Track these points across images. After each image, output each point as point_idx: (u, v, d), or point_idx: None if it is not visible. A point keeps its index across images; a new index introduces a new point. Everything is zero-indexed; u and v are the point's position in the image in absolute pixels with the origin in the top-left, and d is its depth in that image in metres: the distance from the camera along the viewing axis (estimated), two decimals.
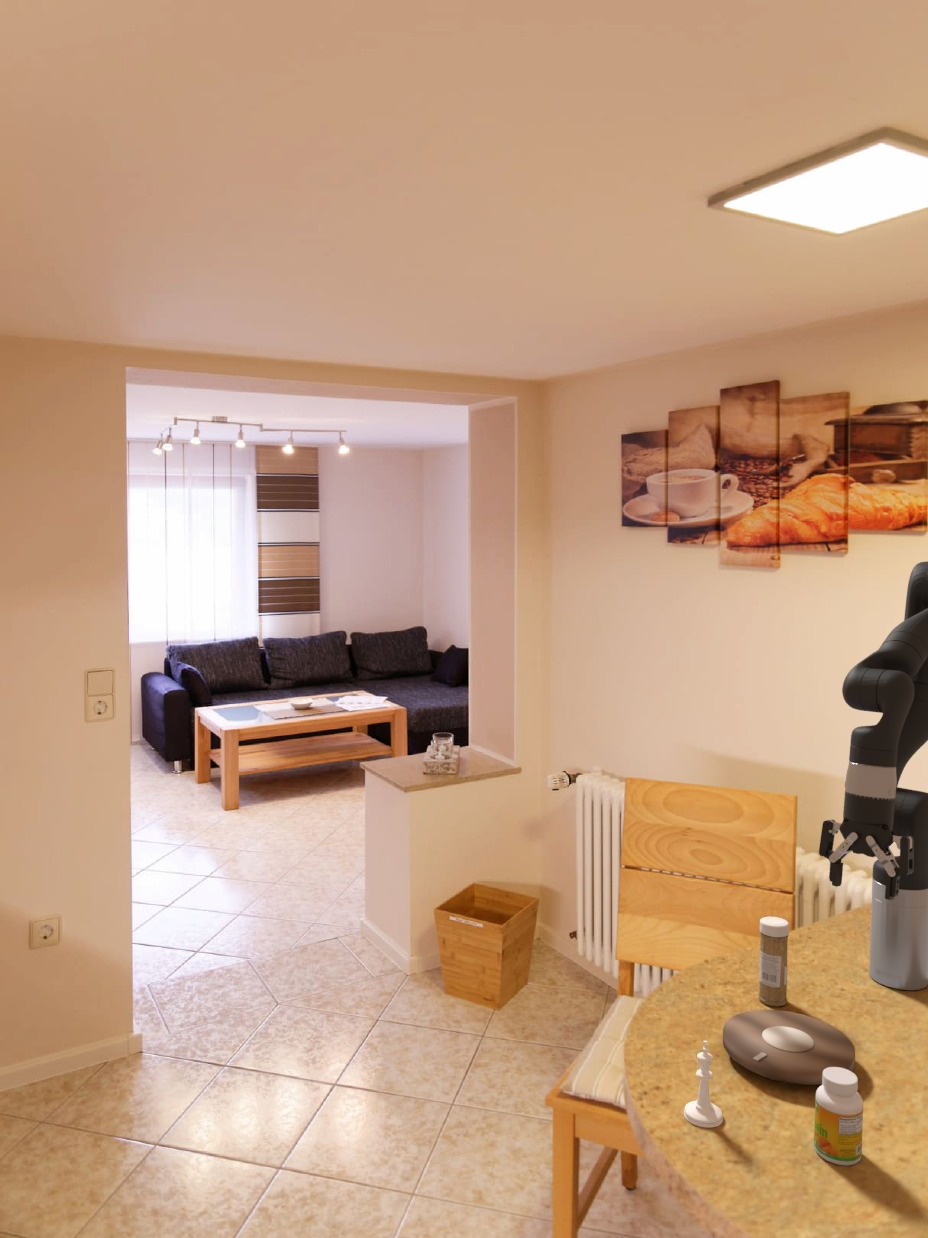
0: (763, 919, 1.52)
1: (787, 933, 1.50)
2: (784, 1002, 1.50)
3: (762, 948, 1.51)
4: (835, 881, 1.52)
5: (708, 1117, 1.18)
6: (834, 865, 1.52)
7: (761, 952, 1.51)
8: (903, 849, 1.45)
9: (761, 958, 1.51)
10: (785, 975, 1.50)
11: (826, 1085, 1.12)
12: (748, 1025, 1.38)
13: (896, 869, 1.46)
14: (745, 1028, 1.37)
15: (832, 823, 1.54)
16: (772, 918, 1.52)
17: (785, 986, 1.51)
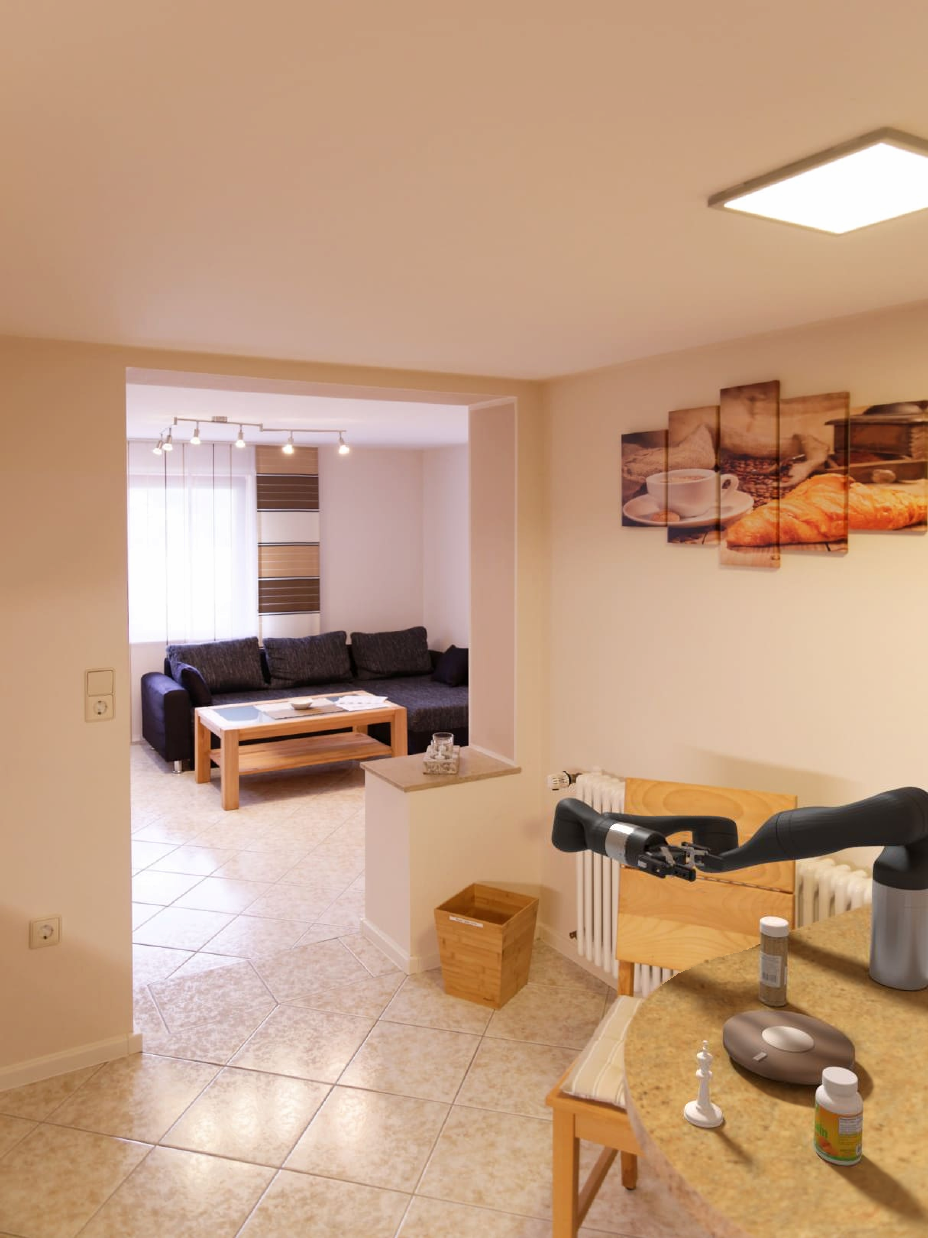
0: (763, 919, 1.52)
1: (787, 933, 1.50)
2: (784, 1002, 1.50)
3: (762, 948, 1.51)
4: (691, 868, 1.59)
5: (708, 1117, 1.18)
6: (677, 864, 1.61)
7: (761, 952, 1.51)
8: (690, 844, 1.71)
9: (761, 958, 1.51)
10: (785, 975, 1.50)
11: (826, 1085, 1.12)
12: (748, 1025, 1.38)
13: None
14: (745, 1028, 1.37)
15: None
16: (772, 918, 1.52)
17: (785, 986, 1.51)
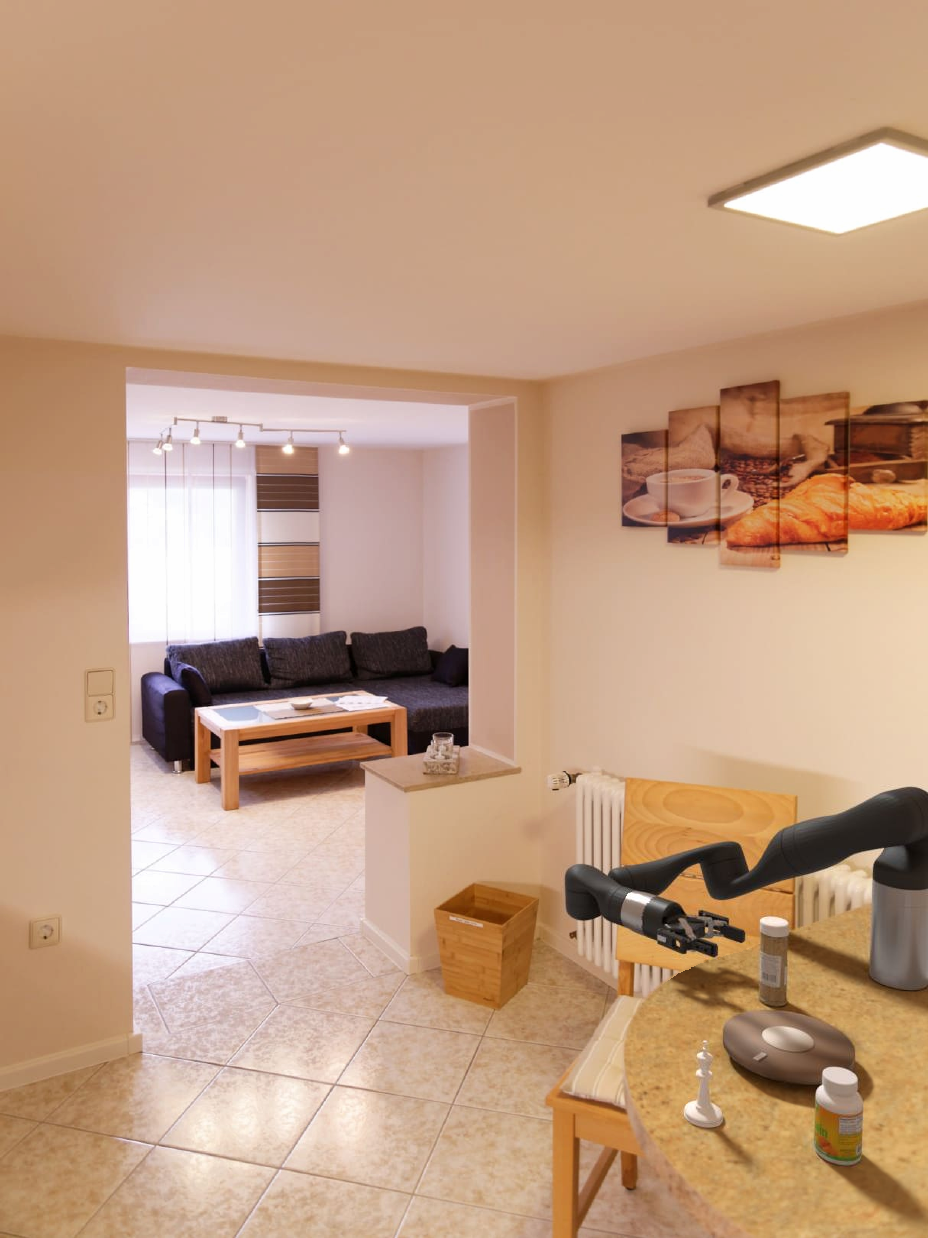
0: (763, 919, 1.52)
1: (787, 933, 1.50)
2: (784, 1002, 1.50)
3: (762, 948, 1.51)
4: (712, 943, 1.55)
5: (708, 1117, 1.18)
6: (698, 939, 1.57)
7: (761, 952, 1.51)
8: (708, 913, 1.68)
9: (761, 958, 1.51)
10: (785, 975, 1.50)
11: (826, 1085, 1.12)
12: (748, 1025, 1.38)
13: None
14: (745, 1028, 1.37)
15: None
16: (772, 918, 1.52)
17: (785, 986, 1.51)
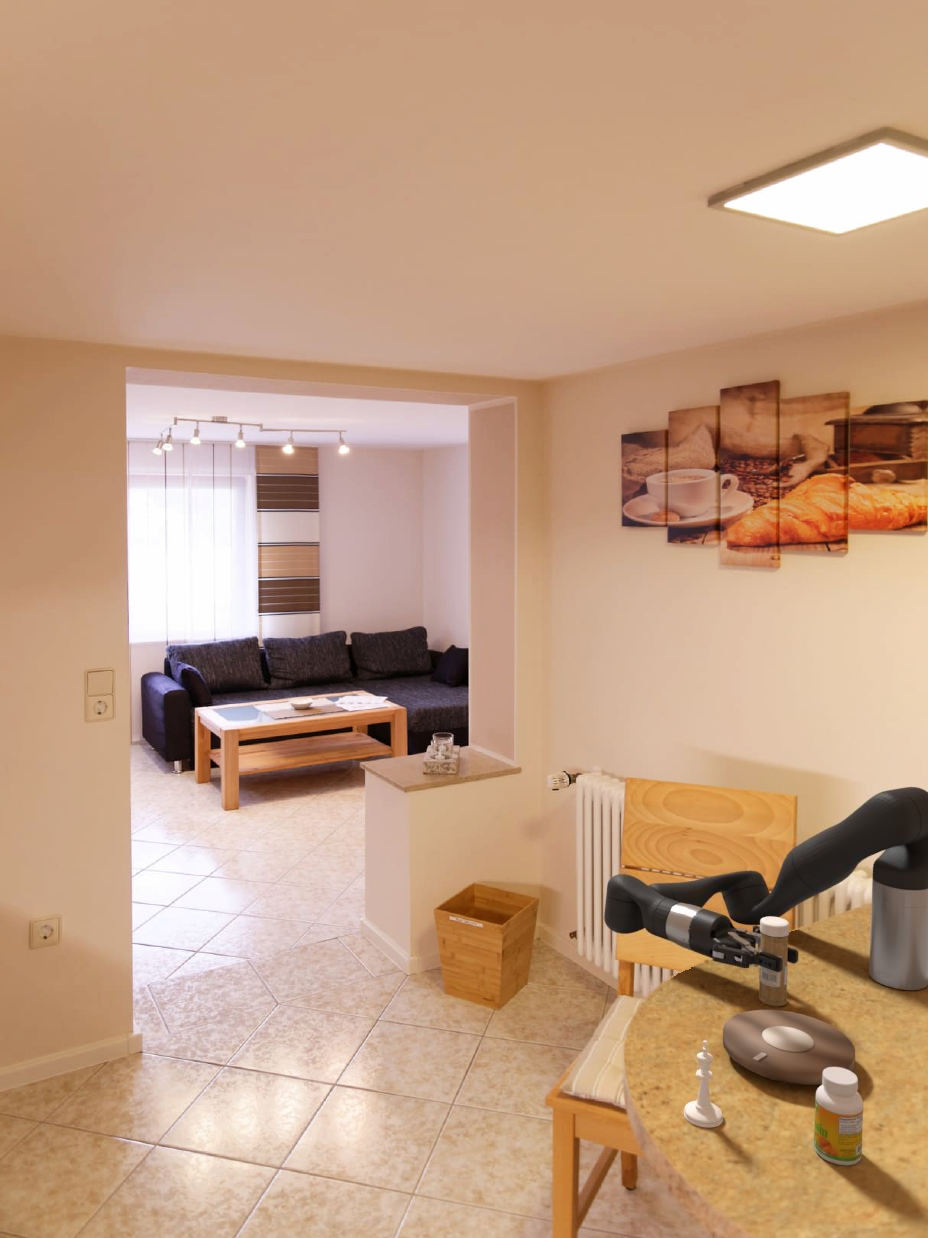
0: (763, 919, 1.52)
1: (787, 933, 1.50)
2: (784, 1002, 1.50)
3: (762, 948, 1.51)
4: (777, 957, 1.49)
5: (708, 1117, 1.18)
6: (761, 952, 1.50)
7: None
8: None
9: None
10: (785, 975, 1.50)
11: (827, 1085, 1.12)
12: (748, 1025, 1.38)
13: None
14: (745, 1028, 1.37)
15: None
16: (772, 918, 1.52)
17: (785, 986, 1.51)
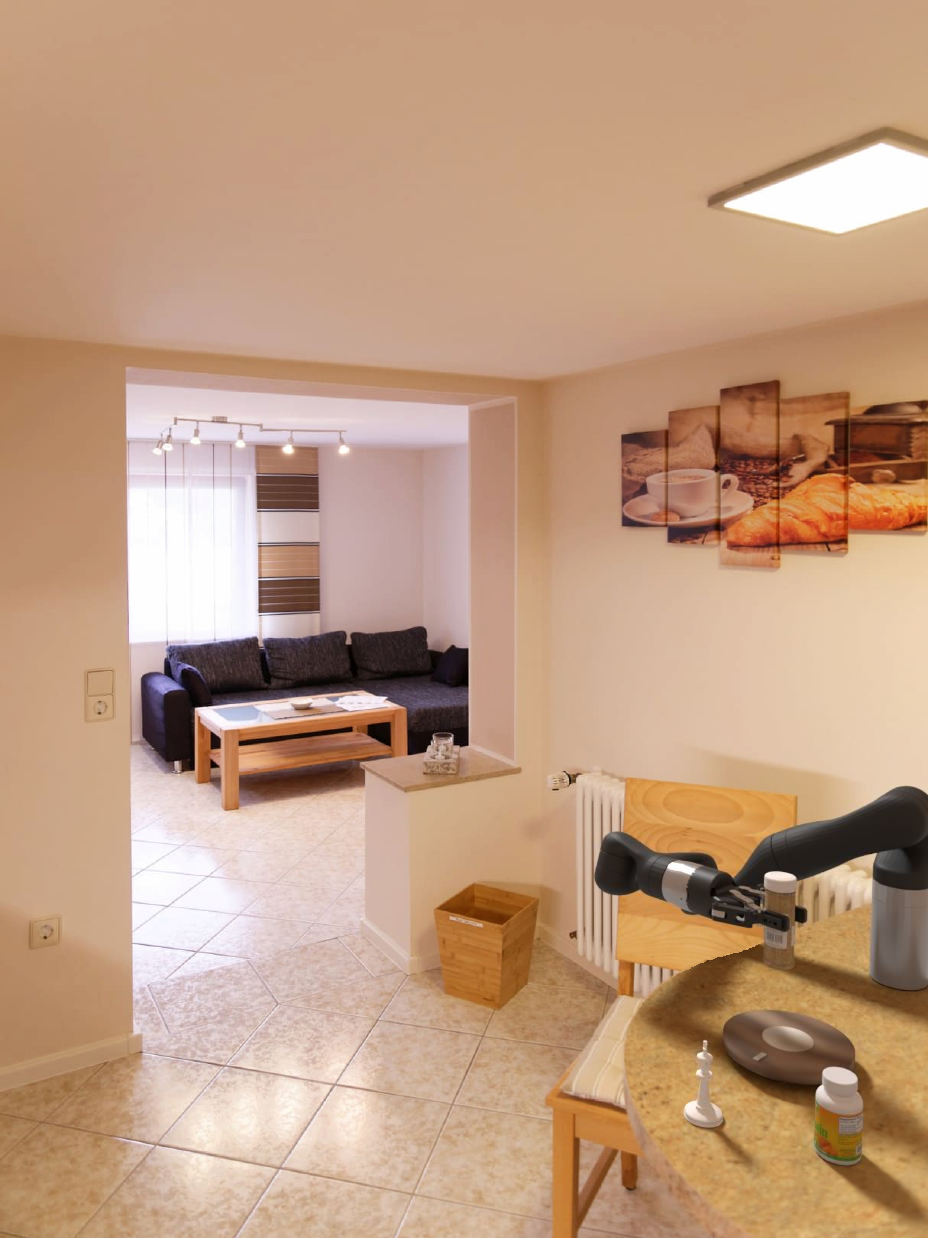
0: (768, 874, 1.37)
1: (794, 889, 1.35)
2: (791, 965, 1.36)
3: (766, 906, 1.36)
4: (783, 915, 1.34)
5: (708, 1117, 1.18)
6: (766, 911, 1.36)
7: None
8: None
9: None
10: (792, 935, 1.35)
11: (826, 1085, 1.12)
12: (748, 1025, 1.38)
13: None
14: (745, 1028, 1.37)
15: None
16: (778, 873, 1.38)
17: (792, 948, 1.36)
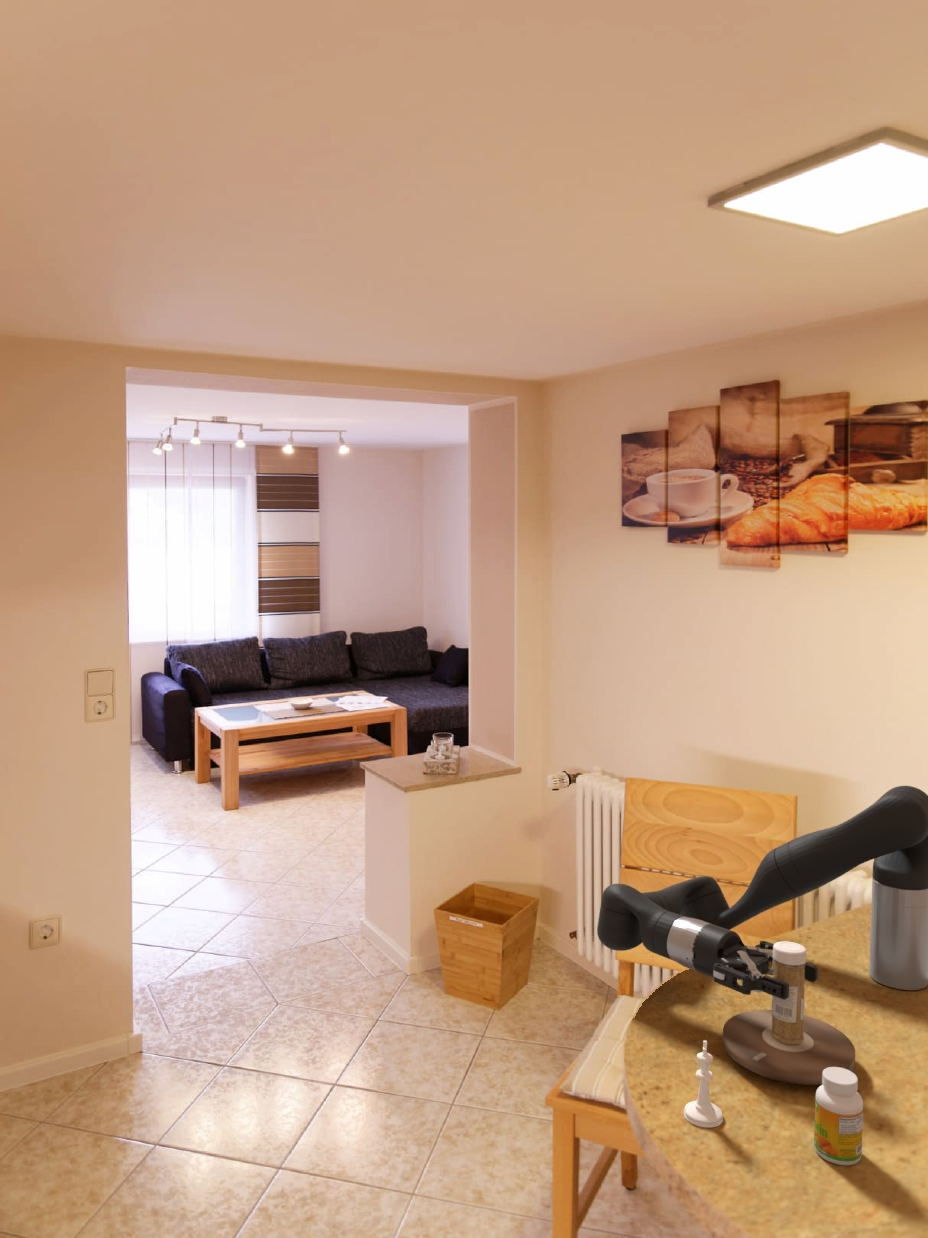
0: (777, 944, 1.34)
1: (804, 961, 1.32)
2: (800, 1040, 1.32)
3: (775, 978, 1.33)
4: (782, 982, 1.30)
5: (708, 1117, 1.18)
6: (765, 976, 1.31)
7: None
8: (771, 945, 1.42)
9: None
10: (802, 1009, 1.32)
11: (826, 1085, 1.12)
12: (748, 1025, 1.38)
13: None
14: (745, 1028, 1.37)
15: None
16: (787, 943, 1.34)
17: (802, 1021, 1.32)
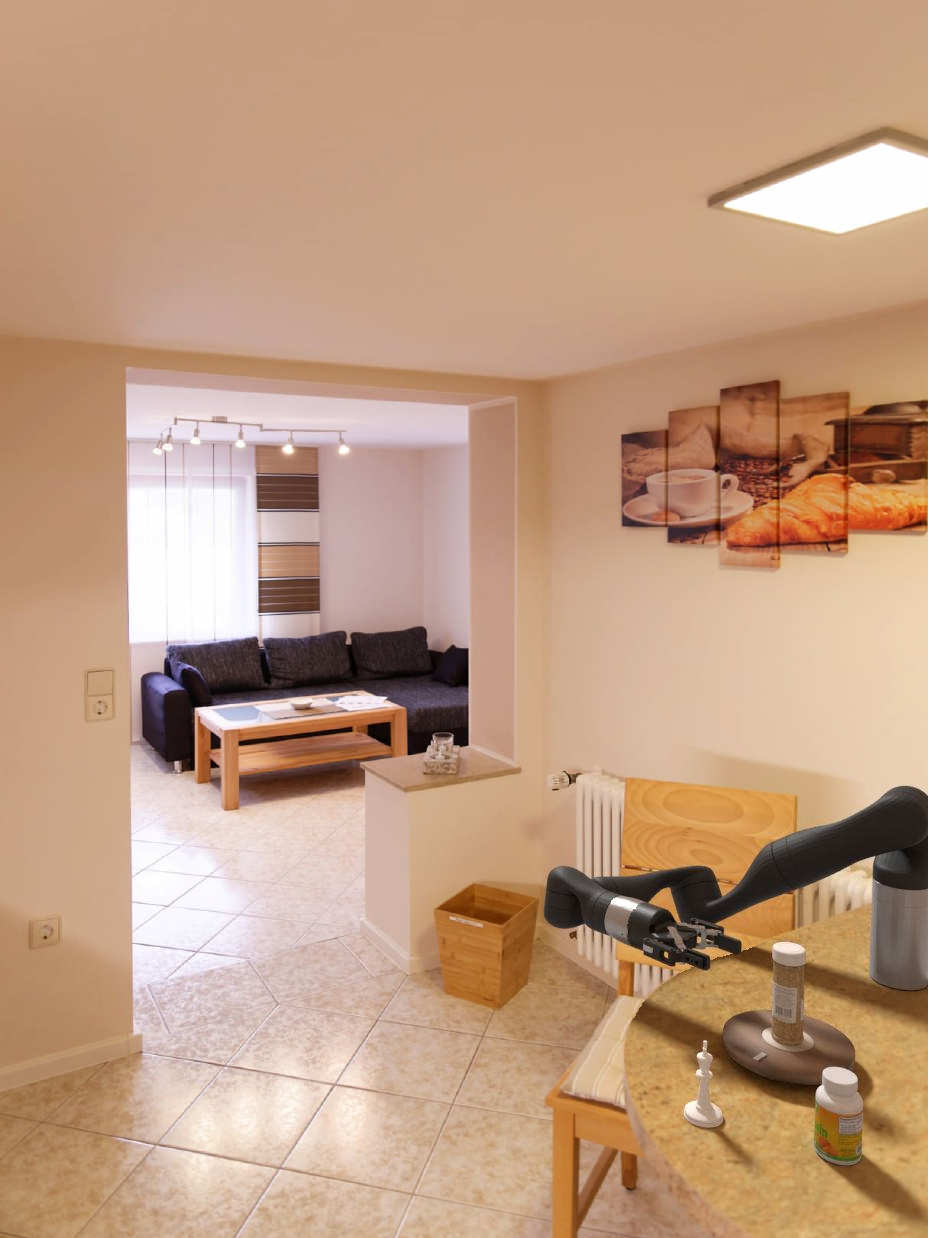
0: (776, 945, 1.34)
1: (804, 961, 1.32)
2: (800, 1040, 1.32)
3: (775, 979, 1.33)
4: (704, 954, 1.39)
5: (708, 1117, 1.18)
6: (689, 949, 1.41)
7: (774, 983, 1.33)
8: (701, 921, 1.51)
9: (774, 990, 1.33)
10: (802, 1009, 1.32)
11: (826, 1085, 1.12)
12: (748, 1025, 1.38)
13: None
14: (745, 1028, 1.37)
15: None
16: (786, 944, 1.34)
17: (802, 1022, 1.32)
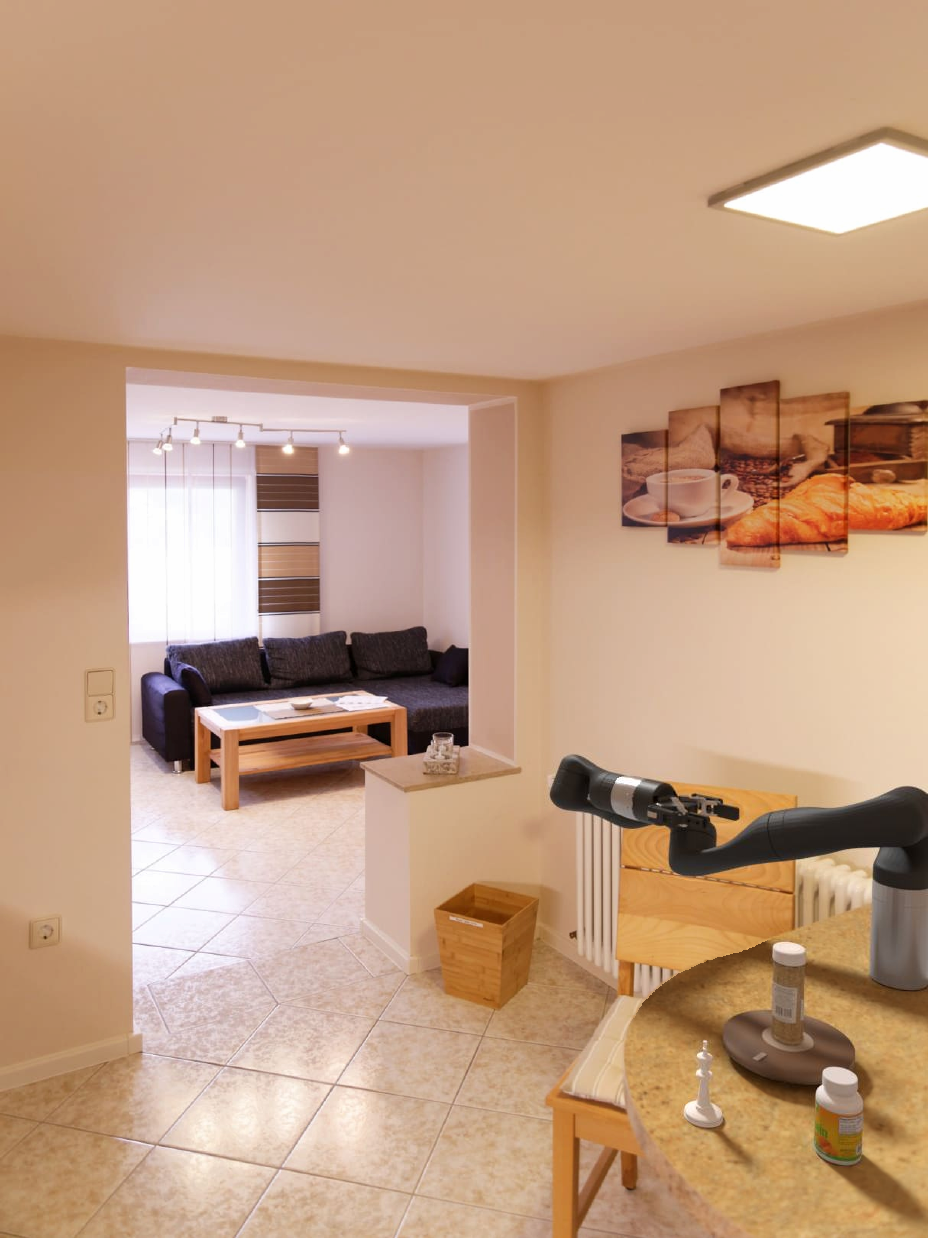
0: (776, 945, 1.34)
1: (804, 961, 1.31)
2: (800, 1040, 1.32)
3: (775, 979, 1.33)
4: (705, 816, 1.49)
5: (708, 1117, 1.18)
6: (690, 812, 1.51)
7: (774, 983, 1.33)
8: (701, 796, 1.61)
9: (774, 990, 1.33)
10: (802, 1009, 1.32)
11: (827, 1085, 1.12)
12: (748, 1025, 1.38)
13: None
14: (745, 1028, 1.37)
15: None
16: (787, 944, 1.34)
17: (802, 1022, 1.32)
